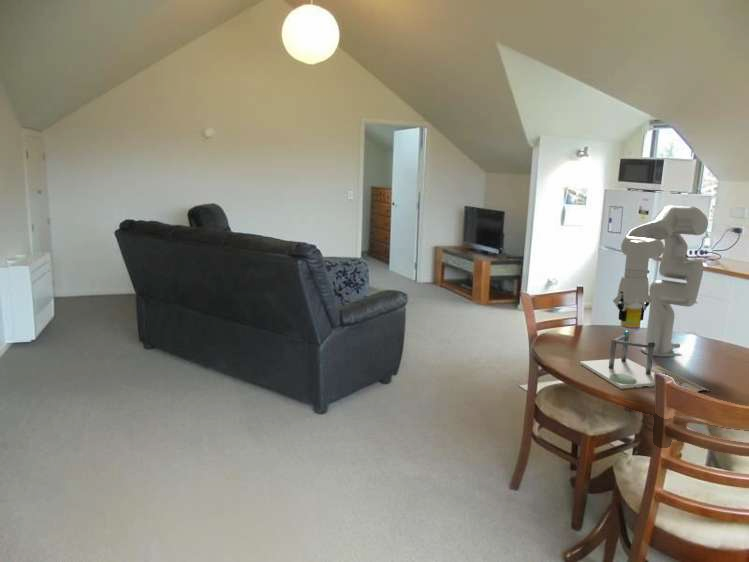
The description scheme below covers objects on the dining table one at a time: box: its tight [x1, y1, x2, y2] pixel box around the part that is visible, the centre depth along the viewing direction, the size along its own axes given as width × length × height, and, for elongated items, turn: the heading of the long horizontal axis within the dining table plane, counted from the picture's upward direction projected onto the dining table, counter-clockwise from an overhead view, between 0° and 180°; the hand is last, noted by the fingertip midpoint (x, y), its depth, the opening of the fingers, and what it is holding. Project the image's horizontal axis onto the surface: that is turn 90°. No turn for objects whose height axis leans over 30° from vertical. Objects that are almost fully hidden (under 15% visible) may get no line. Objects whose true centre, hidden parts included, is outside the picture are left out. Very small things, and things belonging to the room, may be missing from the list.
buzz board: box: [579, 358, 655, 390], centre depth 201 cm, size 21×25×2 cm
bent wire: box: [609, 330, 655, 375], centre depth 203 cm, size 12×16×13 cm
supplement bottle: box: [620, 298, 642, 332], centre depth 197 cm, size 7×7×13 cm
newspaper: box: [651, 365, 711, 393], centre depth 196 cm, size 24×7×2 cm, turn 12°
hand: (630, 319), depth 198 cm, fingers closed on supplement bottle, 6 cm apart
